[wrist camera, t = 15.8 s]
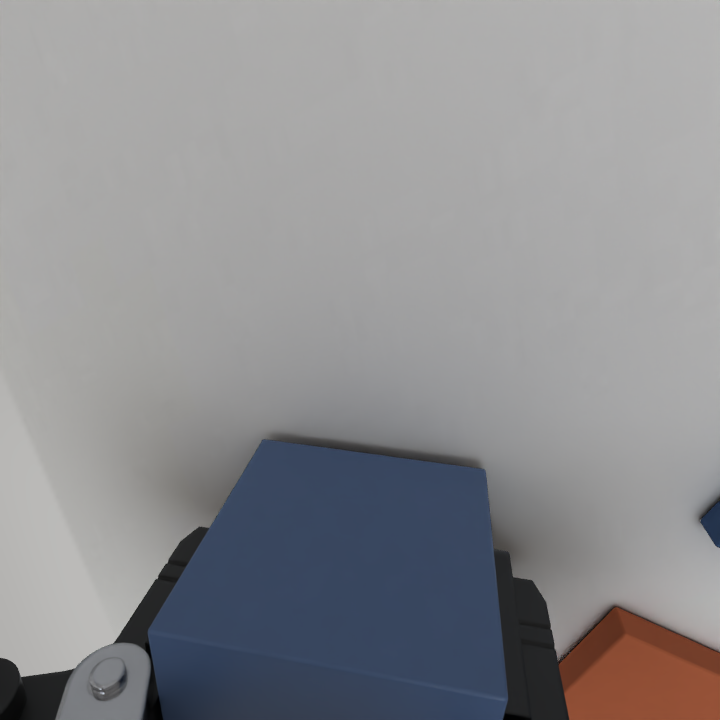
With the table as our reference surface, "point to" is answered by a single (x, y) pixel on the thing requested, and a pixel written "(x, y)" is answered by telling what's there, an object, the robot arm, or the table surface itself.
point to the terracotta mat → (640, 674)
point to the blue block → (337, 596)
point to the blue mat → (713, 524)
